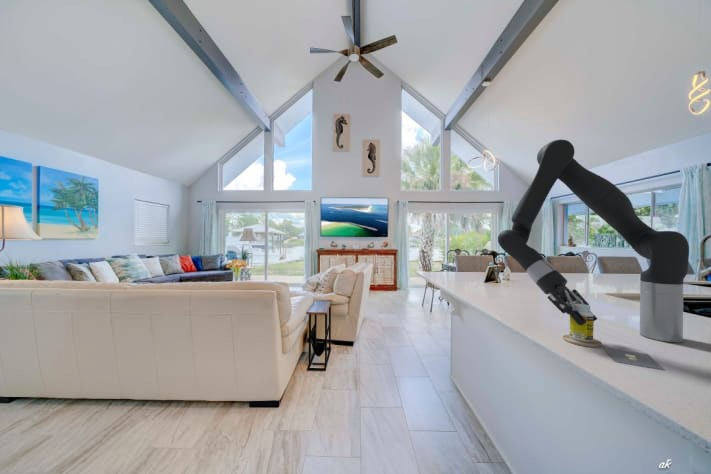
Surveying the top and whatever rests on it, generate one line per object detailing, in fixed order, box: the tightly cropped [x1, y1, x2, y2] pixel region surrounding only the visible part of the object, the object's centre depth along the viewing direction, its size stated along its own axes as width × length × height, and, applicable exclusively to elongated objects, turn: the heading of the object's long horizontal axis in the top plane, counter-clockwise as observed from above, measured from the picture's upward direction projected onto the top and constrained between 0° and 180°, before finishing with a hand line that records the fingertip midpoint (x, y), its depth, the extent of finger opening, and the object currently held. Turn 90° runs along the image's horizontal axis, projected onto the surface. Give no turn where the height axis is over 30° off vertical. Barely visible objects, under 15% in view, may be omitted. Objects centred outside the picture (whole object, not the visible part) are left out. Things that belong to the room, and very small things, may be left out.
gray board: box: [603, 346, 666, 372], centre depth 74 cm, size 11×9×1 cm
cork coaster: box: [562, 334, 603, 348], centre depth 85 cm, size 9×9×1 cm
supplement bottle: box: [569, 304, 595, 342], centre depth 85 cm, size 6×6×10 cm
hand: (588, 322), depth 84 cm, fingers open, 6 cm apart
